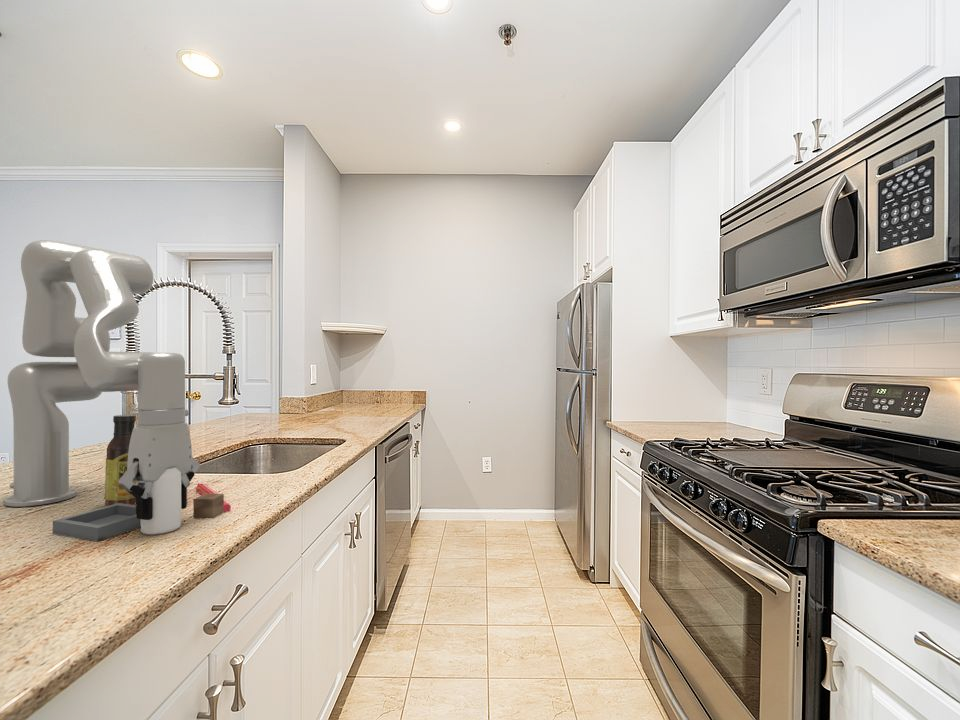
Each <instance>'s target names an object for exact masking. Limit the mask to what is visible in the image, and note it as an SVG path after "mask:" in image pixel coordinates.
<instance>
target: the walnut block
mask: <svg viewBox="0 0 960 720" xmlns="http://www.w3.org/2000/svg"><path fill="white" fill-rule="evenodd" d="M224 498H225V495H224V493H218V494H203V495H201V494H200V495H199V496H198V497H195V498H193V505H192V506H193V513H192V514H193V519H205V518H213V519H215V518H216V516H217V517H218V516H220V515H222V514H223V512H224V500H225V499H224ZM224 513H225V512H224ZM214 517H215V518H214Z"/></svg>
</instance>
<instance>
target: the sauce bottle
mask: <svg viewBox="0 0 960 720" xmlns="http://www.w3.org/2000/svg"><path fill="white" fill-rule="evenodd" d="M136 420H137V417H136V415H135V414H116V415H113V419H112V422H113V423H114V425H113V437H112V439H111V440H110V441H109V442H108V445H107V448H106V457H105V477H104V479H105V481H104V500H105V502H104V507H106V506H110V505H113V504H117V503H123V504H130V505H136V498H135V497H133V496H132V495H131V494H130V493H129V492H127V491H126V489H124V488H123V487H122V486H120V485H119V484H118V481H119V479H120V478H121V477H122V476H123V475H124V473H125V472H126V471H127V462H128V451H129V444H130V439H131V435H132V431H133V428H135V425H136ZM133 483H134V484H135V485H136V483H137V481H133Z"/></svg>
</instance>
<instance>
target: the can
mask: <svg viewBox="0 0 960 720" xmlns="http://www.w3.org/2000/svg"><path fill="white" fill-rule="evenodd" d="M176 467H177V466H175V467H171V468H166V469H167V470H166V471H165V472H164V473H163V474H162V475H161V477H160V478H159V480H157V481H154V484H153V486H152V489H151V492H150V495H149V497H152V515H153V517H152V519H150V520H143V519H141V528H140V532H141V533H142V534H144V535H145V534H146V536H159V535H165V534H169V533H172V532H175V531H177V530H178V529H179V528H180V527H181V526H182V509H181V472H180V471H179V470H178V469H176ZM144 486H145V484H144V483H143V488H144Z"/></svg>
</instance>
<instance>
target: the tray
mask: <svg viewBox="0 0 960 720" xmlns="http://www.w3.org/2000/svg"><path fill="white" fill-rule="evenodd" d="M140 527H141V519H137V515H136V504H134V505H130V504H123V503H117V504H113V505H110V506H102V507H99V508H95V509H92V510H88V511H84V512H81V513H77V514H73V515H70V516H69V515H68V516H65V517H62V518H58V519H54V520H52V535H57V536H63V537H69V538H75V539H81V540H87V541H93V542H101V541H103V540H106V539H110V538H113V537H115V536H119V535H122V534H125V533H128V532H131V531H134V529H135V530H137V529H136V528H138V529H141V528H140ZM130 530H131V531H130ZM127 531H128V532H127ZM124 532H125V533H124ZM121 533H122V534H121Z"/></svg>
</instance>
